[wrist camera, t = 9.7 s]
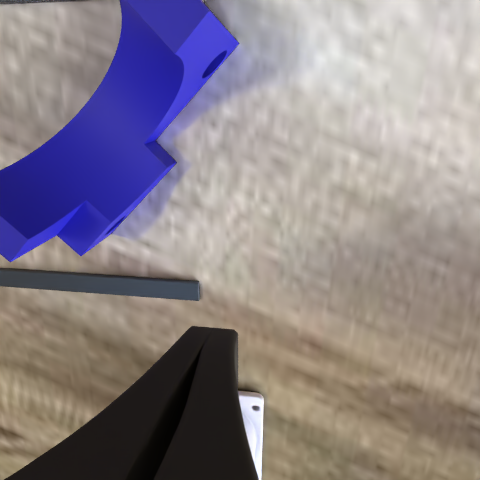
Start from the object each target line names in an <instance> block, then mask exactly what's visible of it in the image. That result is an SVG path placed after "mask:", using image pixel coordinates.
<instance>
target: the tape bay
mask: <svg viewBox="0 0 480 480" xmlns="http://www.w3.org/2000/svg"><path fill="white" fill-rule="evenodd" d="M48 1H69V0H0V4H5V3H27V2H48ZM0 286H5V287H18V288H32V289H45V290H59V291H72V292H86V293H99V294H113V295H126V296H140V297H153V298H167V299H180V300H194V301H199V300H200V288H199V281H189V280H173V279H158V278H143V277H128V276H113V275H98V274H83V273H68V272H53V271H38V270H22V269H7V268H0Z"/></svg>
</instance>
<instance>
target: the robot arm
mask: <svg viewBox="0 0 480 480" xmlns="http://www.w3.org/2000/svg"><path fill="white" fill-rule="evenodd" d="M263 403H264V399H263V396H262V395H261V394H259V393H255V392H246V391H238V333H237V332H236V331H235V330H232V329H221V328H209V327H197V326H192V327H190V328H189V329H188V330H187V331H186V332H185V333H184V334H183V335H182V336H181V337H180V338H179V339H178V341H177V342H176V343H175V344H174V345H173V346H172V347H171V348H170V349H169V350H168V351H167V352H166V353H165V354H164V355H163V356H162V357H161V358H160V359H159V360H158V361H157V362H156V363H155V364H154V365H153V366H152V367H151V368H150V369H149V370H148V371H147V372H146V373H145V374H144V375H143V376H141V377H140V378H139V379H138V380H137V381H136V382H135V383H134V384H133V385H132V386H130V387H129V388H128V389H127V390H126V391H125V392H124V393H123V394H121V395H120V396H119V397H118V398H117V399H116V400H115V401H113V402H112V403H111V404H110V405H109V406H108V407H106V408H105V409H104V410H103V411H101V412H100V413H99V414H98V415H96V416H95V417H94V418H93V419H91V420H90V421H89V422H88V423H86V424H85V425H84V426H82V427H81V428H80V429H78V430H77V431H76V432H74V433H73V434H72V435H70V436H69V437H67V438H66V439H65V440H63V441H62V442H60V443H59V444H58V445H56V446H55V447H53V448H52V449H50V450H49V451H47V452H46V453H44V454H43V455H41V456H40V457H38V458H37V459H35V460H34V461H32V462H31V463H29V464H28V465H26V466H25V467H23V468H22V469H20V470H19V471H17V472H16V473H14V474H13V475H11V476H9V477H8V478H6V479H4V480H261V471H262V437H263ZM254 405H256V406H254Z"/></svg>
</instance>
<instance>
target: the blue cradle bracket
mask: <svg viewBox="0 0 480 480" xmlns="http://www.w3.org/2000/svg"><path fill="white" fill-rule="evenodd" d="M120 5H121V12H122V28H121V35H120V40H119V44H118V47H117V50H116V53H115V56H114V59H113V61H112V63H111V66H110V68H109V70H108V72H107V74H106V75H105V77H104V79H103V81H102V82H101V84H100V85H99V87H98V88H97V90H96V91H95V93H94V94H93V95H92V97H91V98H90V99H89V101H88V102H87V103H86V104H85V106H84V107H83V108H82V109H81V110H80V111H79V113H78V114H77V115H76V116H75V117H74V118H73V119H72V120H71V121H70V122H69V123H68V124H67V125H66V126H65V127H64V128H63V129H62V130H60V131H59V132H58V133H57V134H56V135H55V136H53V137H52V138H51V139H50V140H48V141H47V142H46V143H45V144H43V145H42V146H41V147H39V148H38V149H36V150H35V151H33V152H32V153H30V154H29V155H27V156H26V157H24V158H22V159H21V160H19V161H17V162H16V163H14V164H12V165H10V166H8V167H6V168H4V169H2V170H0V254H1V255H2V256H3V257H5V258H6V259H7V260H8V261H9V262H11V261H13V260H15V259H17V258H18V257H20V256H22V255H23V254H25V253H27V252H29V251H30V250H32V249H34V248H36V247H37V246H39V245H41V244H42V243H44V242H46V241H48V240H49V239H51V238H53V237H55V236H56V235H57V236H58V237H60V238H61V239H62V240H63V241H64V242H65V243H66V244H68V245H69V246H70V247H71V248H72V249H73V250H74V251H75V252H77V253H78V254H79V255H80V256H82V255H83V254H85V253H86V252H87V251H89V250H90V249H91V248H93V247H94V246H95V245H97V244H98V243H99V242H101V241H102V240H103V239H105V238H106V237H107V236H109V235H110V234H111V233H112V232H113V231H114V230H115V229H116V228H117V227H118V226H119V224H120V223H121V222H122V221H123V220H124V219H125V218H126V217H127V216H128V215H129V214H130V213H131V212H132V210H133V209H134V208H135V207H136V206H137V205H138V204H139V203H140V202H141V201H142V200H143V199H144V197H145V196H146V195H147V194H148V193H149V192H150V191H151V190H152V189H153V188H154V187H155V186H156V185H157V183H158V182H159V181H160V180H161V179H162V178H163V177H164V176H165V175H166V174H167V173H168V172H169V170H170V169H171V168H172V167H173V166H174V165H175V164H176V163H177V162H176V161H175V160H174V159H173V158H172V157H171V156H170V155H169V154H168V153H167V152H166V151H165V150H164V149H163V148H162V147H161V146H160V145H159V144H158V143H157V142H156V141H155V140H156V139H157V138H158V137H159V136H160V135H161V133H162V132H163V131H164V130H165V129H166V128H167V127H168V125H169V124H170V123H171V122H172V121H173V120H174V118H175V117H176V116H177V115H178V114H179V113H180V111H181V110H182V109H183V108H184V107H185V106H186V105H187V103H188V102H189V101H190V100H191V99H192V98H193V96H194V95H195V94H196V93H197V92H198V91H199V89H200V88H201V87H202V86H203V85H204V84H205V83H206V81H207V80H208V79H209V78H210V77H211V76H212V74H213V73H214V72H215V71H216V70H217V69H218V67H219V66H220V65H221V64H222V63H223V62H224V61H225V59H226V58H227V57H228V56H229V55H230V54H231V52H232V51H233V50H234V49H235V48H236V47H237V46H238V44H239V43H238V42H237V41H236V39H235V38H234V37H233V36H232V35H231V34H230V32H229V31H228V30H227V29H226V28H225V27H224V25H223V24H222V23H221V22H220V21H219V20H218V19H217V17H216V16H215V15H214V14H213V13H212V12H211V10H210V9H209V8H208V7H207V6H206V5H205V3H204V2H203V1H202V0H120Z"/></svg>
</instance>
